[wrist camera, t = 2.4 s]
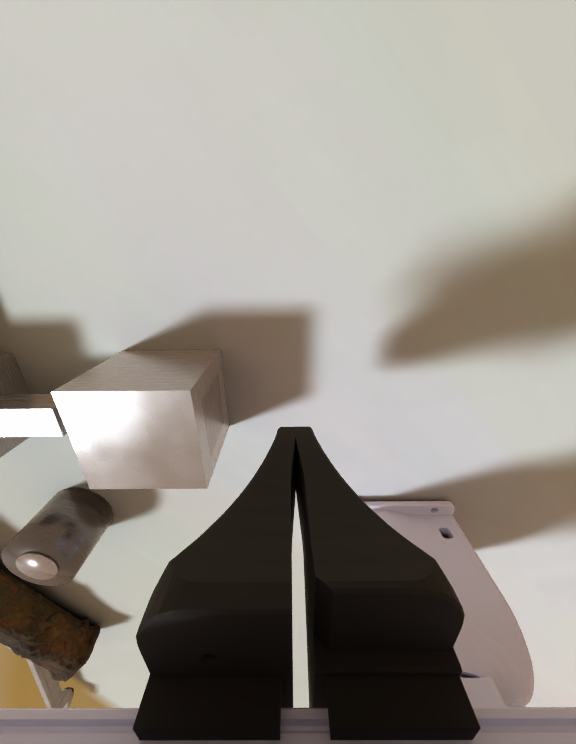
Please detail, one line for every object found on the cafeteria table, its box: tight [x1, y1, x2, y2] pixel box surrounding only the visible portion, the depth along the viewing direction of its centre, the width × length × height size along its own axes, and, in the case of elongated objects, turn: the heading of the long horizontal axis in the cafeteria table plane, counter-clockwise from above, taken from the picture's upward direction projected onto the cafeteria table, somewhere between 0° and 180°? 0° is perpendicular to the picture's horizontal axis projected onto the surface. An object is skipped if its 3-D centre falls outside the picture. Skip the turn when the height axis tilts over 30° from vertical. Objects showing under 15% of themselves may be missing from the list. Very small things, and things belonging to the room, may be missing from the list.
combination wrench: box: [7, 646, 74, 708], centre depth 28 cm, size 4×1×20 cm
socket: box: [1, 488, 113, 586], centre depth 19 cm, size 4×4×4 cm
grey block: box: [51, 349, 229, 489], centre depth 14 cm, size 6×5×5 cm
